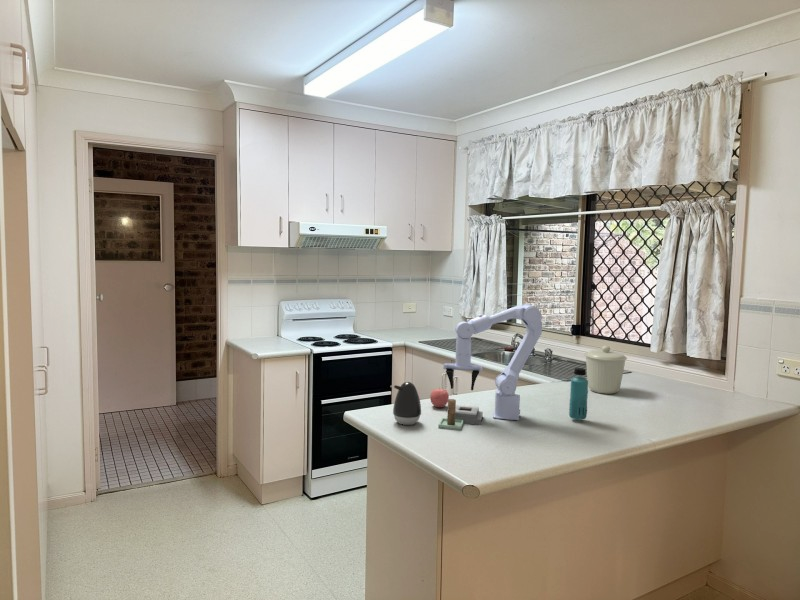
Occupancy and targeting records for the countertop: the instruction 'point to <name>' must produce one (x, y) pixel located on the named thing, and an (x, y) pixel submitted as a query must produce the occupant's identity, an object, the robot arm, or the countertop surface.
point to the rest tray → (457, 425)
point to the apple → (439, 397)
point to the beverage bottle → (578, 395)
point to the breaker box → (468, 414)
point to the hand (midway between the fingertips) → (462, 388)
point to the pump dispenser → (407, 404)
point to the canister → (604, 370)
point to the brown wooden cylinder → (451, 412)
